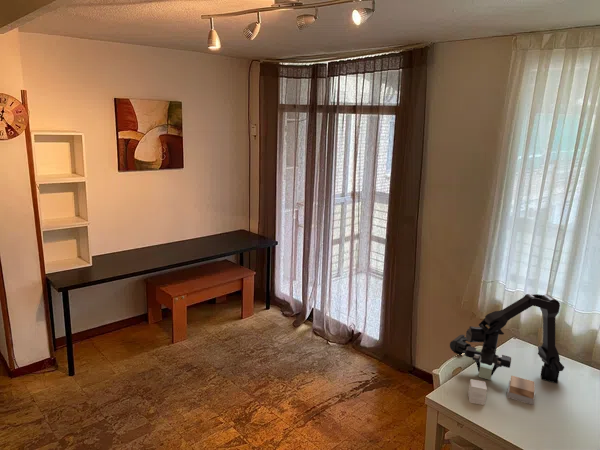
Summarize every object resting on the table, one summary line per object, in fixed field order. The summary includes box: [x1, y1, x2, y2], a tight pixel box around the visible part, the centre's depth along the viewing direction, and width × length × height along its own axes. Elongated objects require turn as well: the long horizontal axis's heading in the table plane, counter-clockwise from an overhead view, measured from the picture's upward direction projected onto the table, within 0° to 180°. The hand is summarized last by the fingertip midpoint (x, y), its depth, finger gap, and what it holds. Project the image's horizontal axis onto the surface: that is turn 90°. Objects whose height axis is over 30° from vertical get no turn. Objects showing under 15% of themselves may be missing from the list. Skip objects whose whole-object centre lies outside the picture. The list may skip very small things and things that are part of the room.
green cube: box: [477, 362, 494, 381], centre depth 203 cm, size 5×5×5 cm
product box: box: [467, 378, 488, 406], centre depth 186 cm, size 6×6×7 cm
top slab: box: [509, 375, 535, 399], centre depth 190 cm, size 9×9×3 cm
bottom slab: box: [506, 379, 535, 406], centre depth 191 cm, size 10×10×3 cm
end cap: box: [449, 334, 472, 356], centre depth 226 cm, size 10×7×7 cm
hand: (485, 373), depth 204 cm, fingers closed on green cube, 5 cm apart
